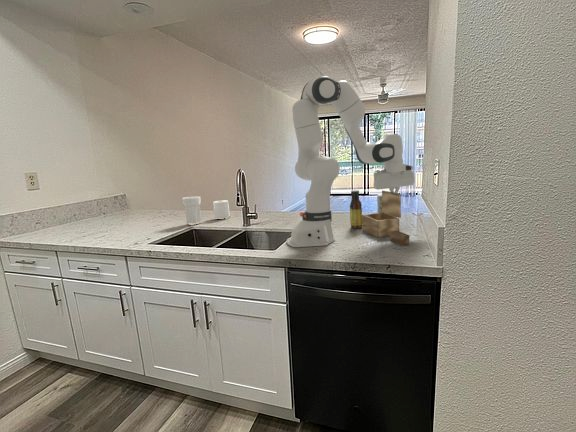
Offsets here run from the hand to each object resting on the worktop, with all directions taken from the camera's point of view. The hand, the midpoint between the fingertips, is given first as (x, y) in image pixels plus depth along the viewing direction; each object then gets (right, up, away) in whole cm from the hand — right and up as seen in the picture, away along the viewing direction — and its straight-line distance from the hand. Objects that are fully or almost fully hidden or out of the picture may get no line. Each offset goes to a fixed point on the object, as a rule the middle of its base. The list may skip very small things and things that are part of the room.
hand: (394, 196), depth 160 cm
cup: (-113, -15, +51) cm, 125 cm away
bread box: (-7, -18, +2) cm, 19 cm away
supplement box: (+1, -15, +15) cm, 21 cm away
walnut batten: (-3, -21, -18) cm, 28 cm away
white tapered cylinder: (-97, -12, +64) cm, 117 cm away
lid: (-2, -4, 0) cm, 4 cm away
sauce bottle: (-16, -16, +15) cm, 27 cm away
